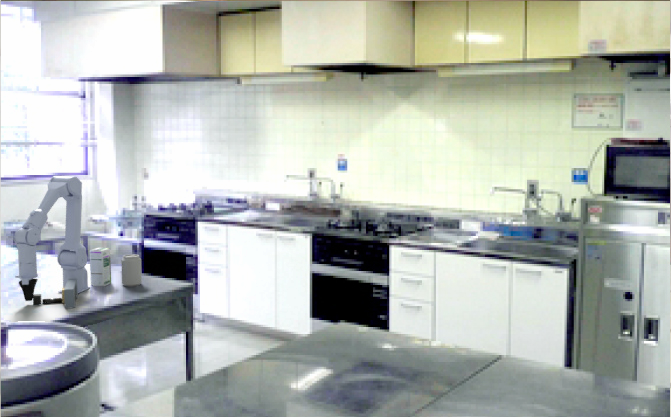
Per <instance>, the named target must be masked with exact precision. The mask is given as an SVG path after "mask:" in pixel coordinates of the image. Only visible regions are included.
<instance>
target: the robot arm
mask: <svg viewBox="0 0 671 417" xmlns="http://www.w3.org/2000/svg"><path fill="white" fill-rule="evenodd" d="M82 189H83V182H82V181H81V180H80V178H78V177H77V176H63V175H61V176H60V175H53V176H52V177H51V178H50V180H49V182H48V183H47V191H46V193H45V194H44V197H43V198H42V201H41V202H40V204H39V206H38V207H37V209H35V210H32V211H31V212H30V213H29V216H28V217H27V219H26V220H25V222H24V223H23V225H22V226H21V227H20V228H19V229H17V230H16V231H15V232H14V236H13V241H14V243H15V244H16V248H17V256H18V257H17V258H18V259H17V260H18V274H15V275H14V277H15V278H16V279H17V278H18V279H19V281H18V285H19V286H20V288H21V291H22V294H23V297H24V300H25V302H33V295H34V294H35V289H36V288H35V287H36V285H37V282H38V280H39V279H38V275H39V274H38V268H37V267H38V266H37V265H38V264H37V244H38V243H39V241H40V239H41V232H42V231H41V230H42V229H43V228H44V226H45V224H46V223H47V221H48V213H49V212H50V210H51V209H52V208H53V207H54V205H55V204H56V202H57V201H58V200H59V199H60V198H63V199H64V201H65V202H66V203H65V204H66V206H65V207H66V208H65V226H64V228H65V229H64V230H65V231H64V233H65V234H64V242H63V243H62V245H60V246H59V250H58V251H59V252H58V254H57V259H56V260H57V263H58V265H59V266H60V268H61V269H62V288H63V287H65V286H66V284H67V281H68V279H77V294H80V293H82V292H84V291H87V290H88V289H91V286H89V280H88V277H89V276H88V269H86V265H87V263H88V258H89V257H88V254H87V248H86V247H85V246H84V245H83V244H82V242H81V237H82V236H81V234H82V233H81V232H82V231H81V229H82V210H83V207H82V206H83V195H82V194H83V192H82ZM58 293H61V294H62V289H61V290H59V291H58Z"/></svg>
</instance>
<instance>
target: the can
mask: <svg viewBox="0 0 671 417" xmlns="http://www.w3.org/2000/svg"><path fill="white" fill-rule="evenodd" d="M120 260H121V262H120V263H121V284H122V285H123V286H124V287H132V288H133V287H138V286H140V284H142V283H143V282H142V280H143V279H142V259H141V257H140V255H139V254H134V253H133V254H131V253H130V254H129V253H128V254H124V255H123V256H122V258H121V259H120Z"/></svg>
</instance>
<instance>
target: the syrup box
mask: <svg viewBox="0 0 671 417" xmlns="http://www.w3.org/2000/svg"><path fill="white" fill-rule="evenodd" d="M111 264H112V263H111V248H109V247H96V248H93V249H90V250H89V270H90V271H89V273H90V285H91V286H92V285H93V287H103V286H104V287H105V286H108V285H110V284H112V267H111V266H112V265H111Z"/></svg>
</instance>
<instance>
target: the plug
mask: <svg viewBox="0 0 671 417" xmlns="http://www.w3.org/2000/svg"><path fill="white" fill-rule="evenodd" d="M64 289H65V287H63V286H62V288H61V290H62V293H61V297H59V298H57V297H55V298H42V294H41V293H39V294H38V293H37V294H35V293H34V295H33V299H32V303H33V304H32V305H33V306H38V305H39V304H41V305H43V304H44V303H46V304H60V303H61V304H63V305H65V297H64ZM44 305H45V304H44Z"/></svg>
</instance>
